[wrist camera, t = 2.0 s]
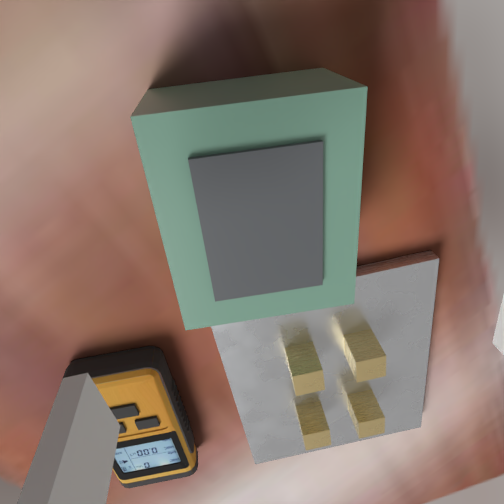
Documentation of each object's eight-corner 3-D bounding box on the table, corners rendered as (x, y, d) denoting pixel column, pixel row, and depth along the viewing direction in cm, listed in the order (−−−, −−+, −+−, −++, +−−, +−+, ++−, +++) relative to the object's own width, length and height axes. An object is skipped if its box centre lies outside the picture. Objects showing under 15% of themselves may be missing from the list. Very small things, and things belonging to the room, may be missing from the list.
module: (148, 88, 22) (129, 118, 15) (321, 67, 22) (370, 87, 16) (187, 263, 28) (185, 333, 22) (321, 243, 29) (356, 307, 22)
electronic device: (163, 336, 32) (160, 367, 29) (201, 444, 40) (201, 476, 37) (63, 355, 32) (50, 389, 29) (121, 460, 40) (116, 494, 37)
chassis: (205, 299, 30) (206, 338, 26) (430, 250, 30) (462, 281, 26) (254, 453, 42) (259, 494, 38) (415, 416, 42) (435, 454, 38)
